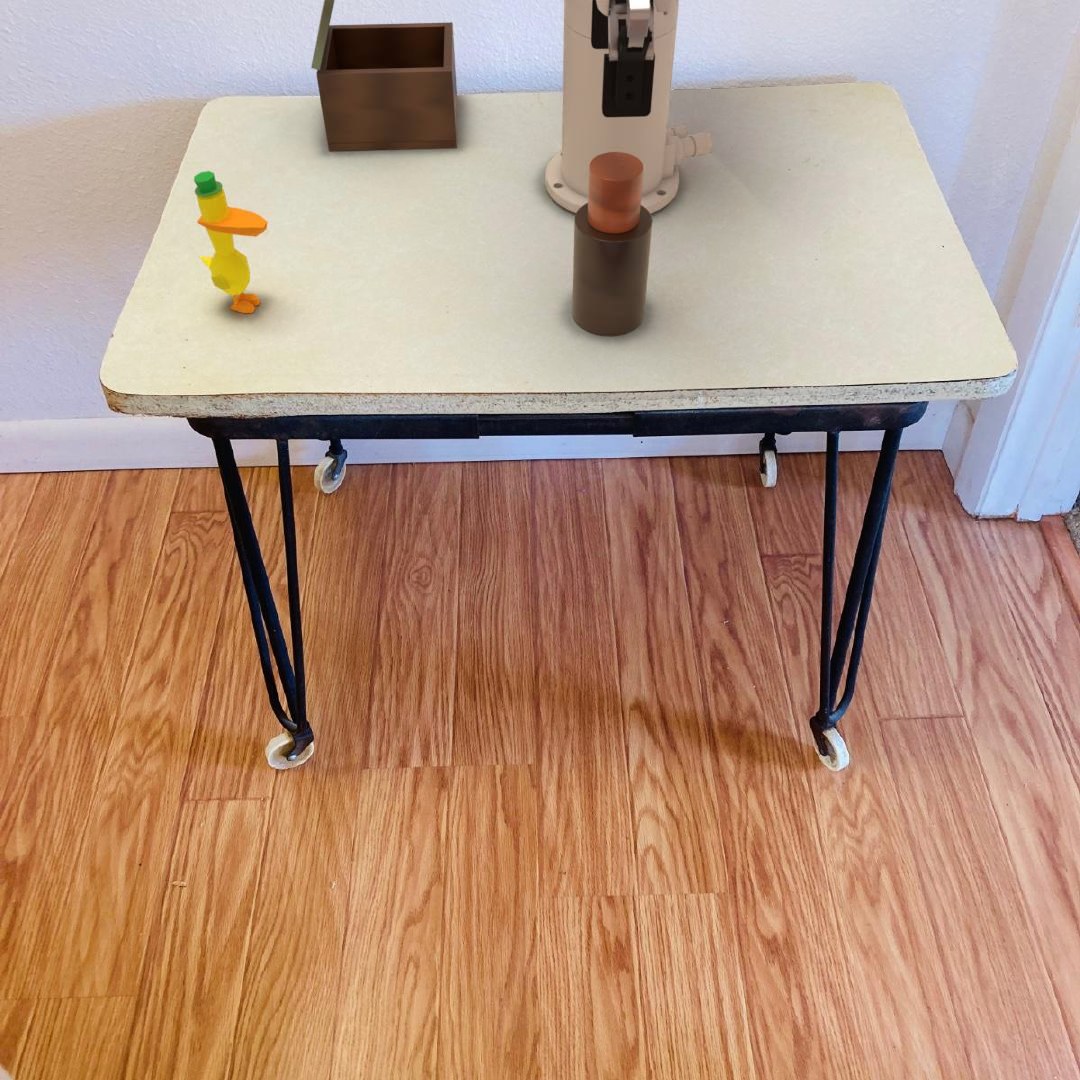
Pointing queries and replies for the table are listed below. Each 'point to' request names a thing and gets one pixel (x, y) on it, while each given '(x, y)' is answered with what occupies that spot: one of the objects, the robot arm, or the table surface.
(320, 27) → the lid
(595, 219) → the peg
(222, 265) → the toy figure
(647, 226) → the peg stand
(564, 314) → the table surface
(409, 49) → the brown wooden open box
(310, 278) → the table surface
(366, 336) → the table surface
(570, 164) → the robot arm
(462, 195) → the table surface
